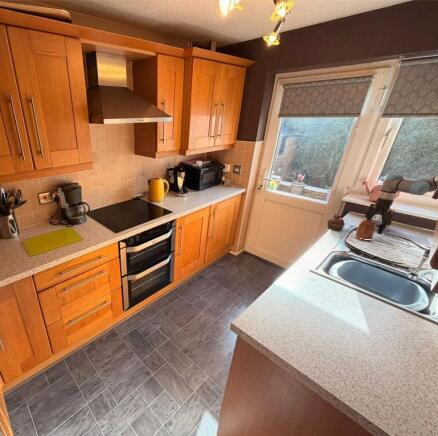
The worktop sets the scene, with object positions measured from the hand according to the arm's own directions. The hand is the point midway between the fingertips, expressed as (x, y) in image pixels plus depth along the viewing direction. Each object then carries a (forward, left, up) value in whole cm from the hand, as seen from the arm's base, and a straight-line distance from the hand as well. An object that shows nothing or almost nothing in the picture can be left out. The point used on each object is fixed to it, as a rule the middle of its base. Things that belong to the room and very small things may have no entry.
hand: (372, 230), depth 154 cm
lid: (0, 0, +6) cm, 6 cm away
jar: (-6, +12, -2) cm, 14 cm away
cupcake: (+10, +18, -3) cm, 21 cm away
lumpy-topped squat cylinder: (+9, -13, -3) cm, 16 cm away
